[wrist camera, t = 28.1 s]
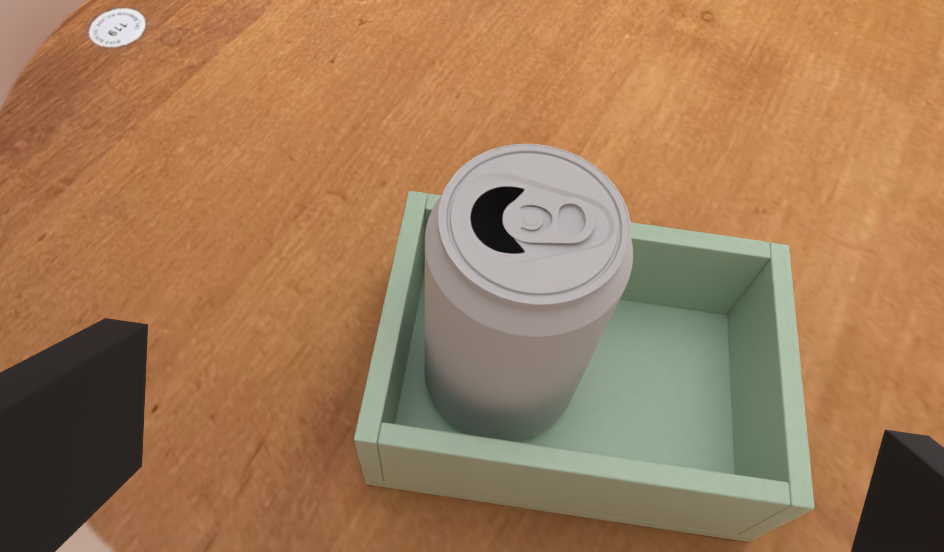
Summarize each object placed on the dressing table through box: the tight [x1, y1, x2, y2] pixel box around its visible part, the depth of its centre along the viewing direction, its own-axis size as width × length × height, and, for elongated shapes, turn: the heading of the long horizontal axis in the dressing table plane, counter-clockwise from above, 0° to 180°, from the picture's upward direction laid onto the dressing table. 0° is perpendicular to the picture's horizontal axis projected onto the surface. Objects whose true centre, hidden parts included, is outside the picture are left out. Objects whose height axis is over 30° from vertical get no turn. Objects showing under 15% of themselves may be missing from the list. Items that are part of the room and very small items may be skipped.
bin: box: [354, 191, 814, 542], centre depth 30 cm, size 16×11×6 cm
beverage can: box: [425, 144, 633, 442], centre depth 27 cm, size 6×6×12 cm
